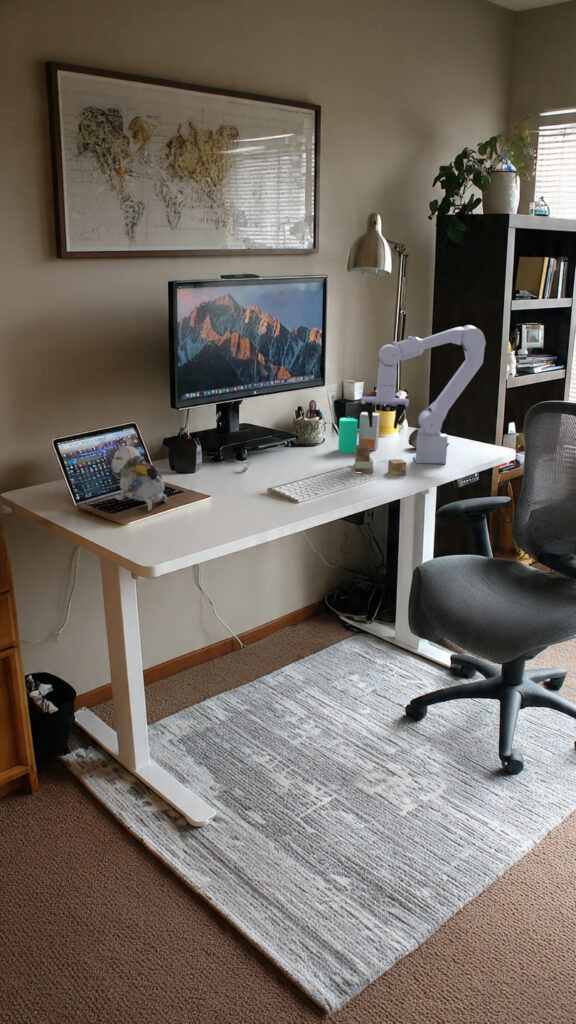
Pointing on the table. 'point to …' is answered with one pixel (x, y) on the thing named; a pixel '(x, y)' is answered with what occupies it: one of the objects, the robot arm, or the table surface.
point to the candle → (347, 435)
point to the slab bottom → (363, 470)
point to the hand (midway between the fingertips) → (382, 427)
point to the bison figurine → (414, 438)
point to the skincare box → (369, 430)
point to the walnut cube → (362, 452)
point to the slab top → (364, 464)
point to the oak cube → (397, 467)
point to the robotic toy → (136, 476)
